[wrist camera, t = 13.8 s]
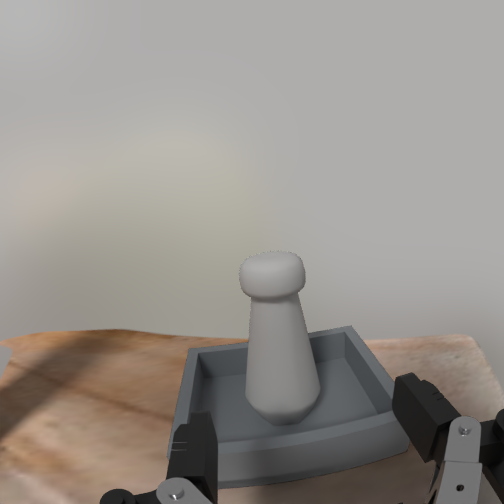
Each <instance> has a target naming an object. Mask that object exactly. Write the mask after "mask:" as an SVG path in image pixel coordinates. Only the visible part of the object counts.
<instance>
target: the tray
mask: <svg viewBox="0 0 504 504" xmlns="http://www.w3.org/2000/svg"><path fill="white" fill-rule="evenodd" d="M308 336H309V341H310V345H311V349H312V353H313V357H314V362H315V366H316V370H317V375H318V379H319V383H320V388H321V389H320V394H319V396H318V398H317V400H316V402H315V404H314V406H313V407H312V409H311V411H310V412H309V413H308V414H307V415H306V416H305V417H304V418H303V419H302V420H301V421H300V422H299V423H298V424H293V425H283V426H273V425H272V424H271V423H269V422H268V421H267V420H265V419H264V418H263V417H261V416H260V415H259V414H258V413H257V411H256V410H255V409H254V408H253V407H252V406H251V404H250V403H249V402H248V401H247V398H246V396H245V389H246V374H247V358H248V342H245V343H237V344H229V345H220V346H211V347H201V348H191V349H189V350H188V355H187V359H186V364H185V368H184V373H183V378H182V382H181V387H180V392H179V396H178V401H177V406H176V411H175V416H174V421H173V426H172V431H171V436H170V441H169V446H168V451H167V458H168V460H169V459H170V453H171V448H172V444H173V436H174V432H175V431H176V430H177V428H178V427H179V426H180V424H190V417H191V412H197V411H210V413H211V417H212V421H213V424H214V428H215V431H216V435H217V440H218V489H225V488H238V487H249V486H259V485H267V484H275V483H282V482H288V481H294V480H300V479H305V478H311V477H316V476H321V475H325V474H330V473H334V472H338V471H342V470H347V469H350V468H354V467H358V466H362V465H365V464H369V463H372V462H375V461H379V460H382V459H385V458H388V457H391V456H394V455H397V454H400V453H403V452H406V451H407V450H408V446H409V443H410V439H409V437H408V436H407V434H406V432H405V431H404V429H403V428H402V426H401V425H400V423H399V422H398V420H397V419H396V417H395V415H394V413H393V410H392V398H393V392H394V385H395V382H394V381H393V380H392V378H391V377H390V376H389V374H388V373H387V372H386V370H385V369H384V368H383V367H382V365H381V364H380V363H379V361H378V360H377V359H376V357H375V356H374V355H373V353H372V352H371V351H370V349H369V348H368V347H367V345H366V344H365V343H364V342H363V340H362V339H361V338H360V336H359V335H358V334H357V332H356V331H355V330H354V329H353V327H352V326H346V327H341V328H335V329H330V330H325V331H318V332H313V333H308Z"/></svg>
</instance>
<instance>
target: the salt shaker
mask: <svg viewBox="0 0 504 504" xmlns="http://www.w3.org/2000/svg"><path fill="white" fill-rule="evenodd" d="M239 280H240V285H241V289H242V290H243V292H244V293H245V294H246V295H248V296H249V297H251V312H250V327H249V342H248V358H247V374H246V389H245V396H246V398H247V401H248V402H249V403H250V404H251V406H252V407H253V408H254V409H255V410H256V411H257V413H258V414H259V415H260V416H261V417H263V418H264V419H265V420H267V421H268V422H269V423H271V424H272V425H273V426H283V425H293V424H298V423H299V422H300V421H301V420H302V419H303V418H304V417H305V416H306V415H307V414H308V413H309V412H310V411H311V409H312V407H313V406H314V404H315V402H316V400H317V398H318V396H319V394H320V389H321V388H320V383H319V379H318V375H317V370H316V366H315V362H314V357H313V353H312V349H311V345H310V341H309V336H308V332H307V328H306V324H305V320H304V316H303V312H302V308H301V304H300V300H299V296H298V292H299V291H300V290H301V289H302V288H303V287H304V285H305V269H304V266H303V262H302V260H301V258H300V257H299V256H297V255H296V254H294V253H291V252H284V251H272V252H264V253H260V254H257V255H254V256H251V257H249V258H247V259H246V260H245V261H244V262H243V263H242V264H241V266H240V273H239Z"/></svg>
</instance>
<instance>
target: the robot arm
mask: <svg viewBox="0 0 504 504" xmlns="http://www.w3.org/2000/svg"><path fill="white" fill-rule="evenodd" d="M392 410H393V413H394V415H395V417H396V419H397V420H398V422H399V423H400V425H401V426H402V428H403V429H404V431H405V432H406V434H407V436H408V437H409V439H410V440H411V442H412V443H413V445H414V447H415V448H416V450H417V451H418V453H419V454H420V456H421V458H422V459H423V461H424V462H425V463H427V462H429V461H431V460H435V462H436V464H435V467H434V471H433V475H432V479H431V482H430V486H429V490H428V493H427V496H426V500H425V502H424V504H477V501H478V495H479V488H480V481H481V472H483V474H484V475H485V477H486V478H487V480H488V481H489V483H490V485H491V486H492V488H493V489H494V491H495V492H496V494H497V496H498V497H499V499H500V500H501V502H502V504H504V409H502V410H500V411H499V412H498V414H497V416H496V418H495V420H490V421H485V422H478V421H477V420H476V419H475V418H473V417H469V416H461V415H460V414H459V413H458V411H457V410H456V409H455V408H454V407H453V406H452V405H451V404H450V402H449V401H448V400H447V399H446V398H444V396H443V395H442V393H440V392H439V390H438V389H437V388H436V387H435V386H434V385H433V384H431V383H430V382H428V381H426V380H422V381H420V380H419V379H418V377H417V376H416V375H415V374H414V373H408V374H405V375H402V376H398V377H396V379H395V385H394V392H393V398H392ZM100 504H218V440H217V435H216V431H215V428H214V424H213V421H212V417H211V413H210V411H197V412H191V417H190V424H180V426H179V427H178V428H177V430H176V431H175V432H174V436H173V444H172V448H171V453H170V459H169V465H168V471H167V477H166V480H165V481H163V482H162V483H161V484H160V485H159V486H158V488H157V489H156V490H154V491H152V492H148V493H143V494H138V495H133V494H132V493H131V492H129V491H127V490H124V489H113V490H110V491H108V492H107V493H105V494H104V495H103V496H102V498H101V500H100ZM399 504H403V503H399Z"/></svg>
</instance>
